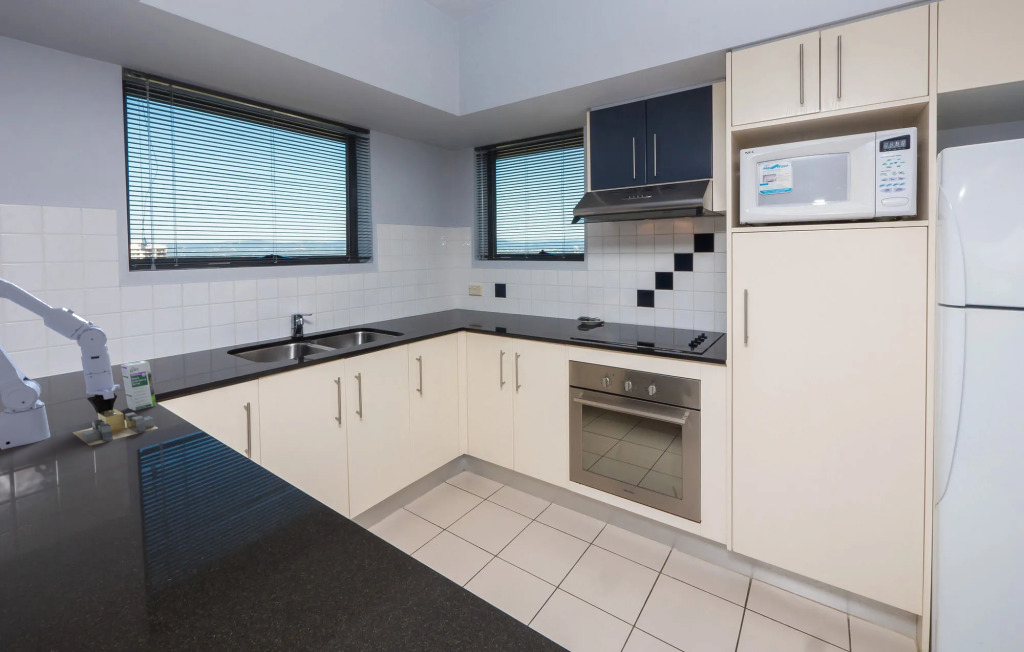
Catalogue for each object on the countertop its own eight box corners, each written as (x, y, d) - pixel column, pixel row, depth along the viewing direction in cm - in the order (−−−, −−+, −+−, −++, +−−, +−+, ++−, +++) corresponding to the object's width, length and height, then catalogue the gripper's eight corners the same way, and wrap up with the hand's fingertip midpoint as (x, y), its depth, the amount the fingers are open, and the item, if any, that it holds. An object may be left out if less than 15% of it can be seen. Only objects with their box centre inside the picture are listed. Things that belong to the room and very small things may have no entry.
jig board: (90, 448, 118) (89, 445, 118) (72, 435, 129) (72, 432, 129) (158, 431, 129) (158, 428, 129) (137, 419, 140) (137, 417, 140)
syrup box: (134, 413, 147) (126, 365, 145) (127, 410, 150) (120, 363, 148) (157, 408, 151) (149, 361, 149) (150, 405, 155) (142, 359, 153)
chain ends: (90, 445, 118) (87, 430, 117) (80, 438, 123) (78, 424, 123) (158, 428, 129) (155, 414, 128) (146, 422, 134) (144, 409, 134)
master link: (108, 433, 126) (105, 416, 126) (100, 427, 131) (97, 411, 131) (125, 429, 129) (123, 412, 128) (116, 423, 134) (114, 408, 133)
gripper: (124, 371, 130) (132, 421, 132) (108, 366, 139) (116, 413, 141) (90, 377, 125) (99, 429, 127) (76, 371, 134) (84, 420, 136)
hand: (106, 421), depth 133 cm, fingers closed
